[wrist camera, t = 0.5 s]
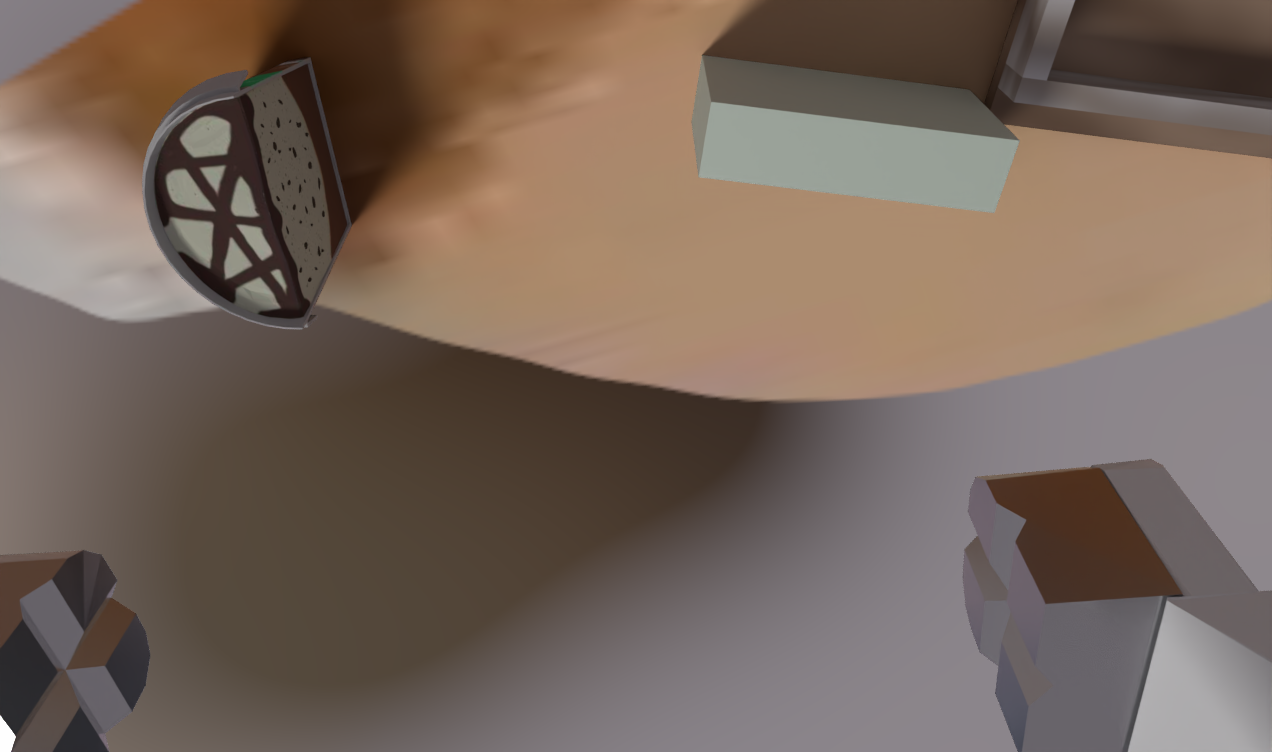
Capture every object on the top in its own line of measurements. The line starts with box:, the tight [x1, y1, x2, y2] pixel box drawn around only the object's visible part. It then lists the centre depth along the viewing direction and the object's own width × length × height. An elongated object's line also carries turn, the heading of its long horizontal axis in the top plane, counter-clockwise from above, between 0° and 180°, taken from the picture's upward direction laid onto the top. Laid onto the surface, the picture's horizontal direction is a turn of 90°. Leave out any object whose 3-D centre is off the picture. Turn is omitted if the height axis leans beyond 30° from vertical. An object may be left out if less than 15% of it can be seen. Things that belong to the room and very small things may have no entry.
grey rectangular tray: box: [984, 0, 1272, 158], centre depth 46 cm, size 11×20×4 cm, turn 83°
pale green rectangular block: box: [692, 55, 1019, 213], centre depth 47 cm, size 4×14×8 cm, turn 83°
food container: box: [142, 57, 352, 329], centre depth 47 cm, size 12×6×10 cm, turn 4°
